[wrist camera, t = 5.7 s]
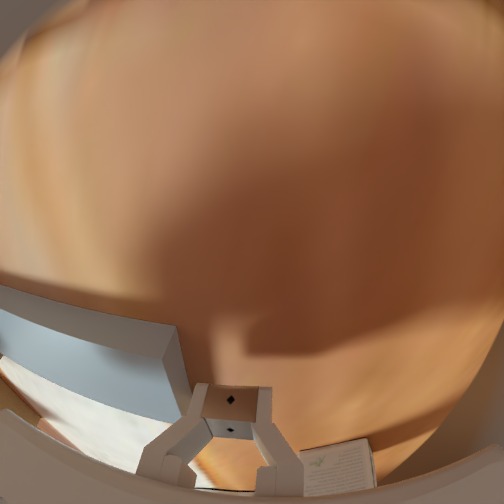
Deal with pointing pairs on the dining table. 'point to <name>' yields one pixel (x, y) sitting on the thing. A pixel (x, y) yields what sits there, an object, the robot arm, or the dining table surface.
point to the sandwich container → (16, 405)
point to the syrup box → (338, 468)
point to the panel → (97, 354)
